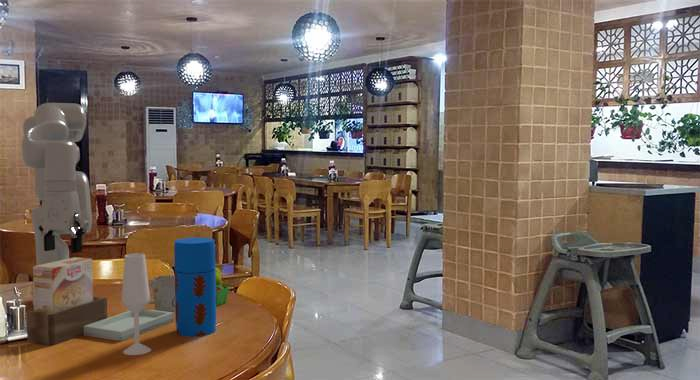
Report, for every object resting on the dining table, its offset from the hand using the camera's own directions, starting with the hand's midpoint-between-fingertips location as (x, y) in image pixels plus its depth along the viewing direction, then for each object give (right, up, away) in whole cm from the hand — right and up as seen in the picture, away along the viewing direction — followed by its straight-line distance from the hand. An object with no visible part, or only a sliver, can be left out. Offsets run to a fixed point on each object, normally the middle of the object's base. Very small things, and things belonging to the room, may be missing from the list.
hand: (63, 251), depth 179 cm
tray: (+16, -22, +7) cm, 28 cm away
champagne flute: (+24, -24, -13) cm, 36 cm away
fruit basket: (+32, -20, +36) cm, 52 cm away
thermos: (+35, -22, +4) cm, 41 cm away
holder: (+1, -22, +2) cm, 22 cm away
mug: (+18, -21, +27) cm, 38 cm away
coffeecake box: (0, -23, +2) cm, 23 cm away
